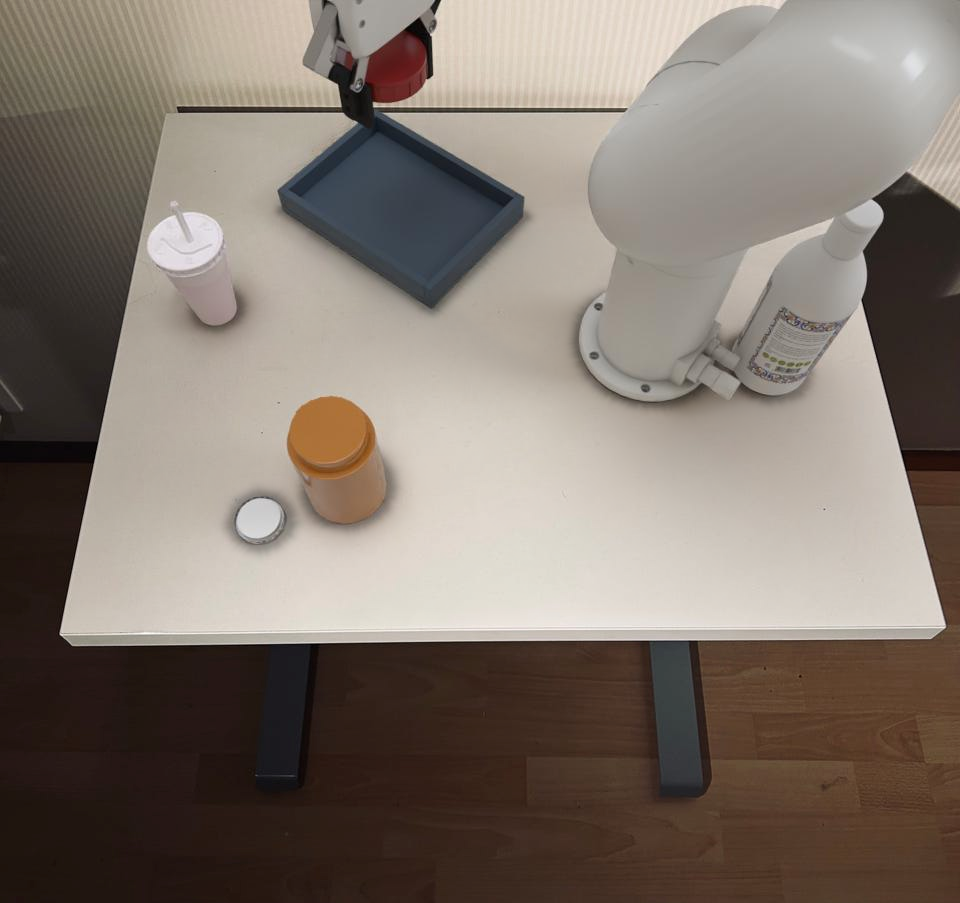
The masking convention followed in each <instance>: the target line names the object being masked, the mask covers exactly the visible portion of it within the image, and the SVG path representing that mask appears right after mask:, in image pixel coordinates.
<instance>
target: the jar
mask: <svg viewBox="0 0 960 903" xmlns="http://www.w3.org/2000/svg"><path fill="white" fill-rule="evenodd" d="M286 449H287V450H286V451H287V453H288V456H289V459H290V461H291V464H292V466H293V467H294V470H295V472H296V474H297V476H298V478H299V480H300V483H301V485H302V487H303V488H304V492H305V493H306V495H307V498H308V500H309V502H310V505H311V506H312V507H313V509H314V510H315V512H316V513H317V514H318V515H319V516H320V517H322V518H323V519H325V520H327V521H329V522H332V523H336V524H342V525H347V524H348V525H349V524H355V523H358V522H362V521H363V520H365V519H367V518H370V517H371V516H372V515H373V514H374V513H375V512H376V511H377V510H378V509H379V508H380V506H381V505H382V503H383V502H384V500H385V497H386V495H387V490H388V489H387V487H388V485H387V483H388V482H387V477H386V473H385V468H384V464H383V460H382V456H381V451H380V447H379V442H378V437H377V433H376V429H375V426H374V423H373V422H372V420H371V418H370V417H369V415H368V414H367V413H366V412H365V411H364V410H362V408H360V407H359V406H358V405H356V403H355V402H353V401H351V400H348V399H346V398H344V397H342V396H341V397H340V396H333V395H328V396H320V397H316V398H314V399H310V400H309V401H307V402H306V403H304V404H302V405H301V406H300V407H299V408H298V409H297V410H296V411H295V414H294V415H293V418H292V420H291V422H290V425H289V430H288V433H287V438H286Z"/></svg>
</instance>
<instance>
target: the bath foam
mask: <svg viewBox="0 0 960 903" xmlns="http://www.w3.org/2000/svg"><path fill="white" fill-rule="evenodd" d="M832 219H833V220H832V221H831V223H830V225H829V226H828V228H827V230H826V232H825V233H822V234H818V235H815V236H813V237H810V238H807V239H805V240H803V241H801V242H799V243H798V244H797V245H795V246H793V247H792V248H791V249H790V250H789V251H787V252H786V253H785V254H784V256H783V257H782V258H781V259H780V260H779V262H778V263H777V264H776V266H775V267H774V269H773V271H772V272H771V275H770V277H769V278H768V280H767V283H766V284H765V286H764V288H763V289H762V291H761V293H760V295H759V297H758V299H757V301H756V303H755V304H754V306H753V308H752V310H751V312H750V314H749V315H748V318H747V320H746V321H745V324H744V325H743V327H742V329H741V331H740V333H739V335H738V337H737V339H736V340H735V342H734V345H733V347H732V350H731V352H733V353H735V354H736V355H738V356H740V357H741V360H740V362H739V363H738V365H737V366H736V368H735V369H734V370H733V372H734V374H735V376H736V378H737V379H738V380H740V381H741V383H742V384H743V385H744V386H745V387H747V388H748V389H750V390H752V391H754V392H755V393H758V394H761V395H765V396H782V395H787V394H789V393H791V392H794V391H795V390H797V389H798V388H799V387H801V385H802V384H803V383H804V381H806V378H807V377H808V376H809V375H810V373H811V372H812V371H813V369H814V368H815V367H816V365H817V364H818V362H819V361H820V360H821V358H822V357H823V355H824V354H825V353H826V352H827V350H828V349H829V347H830V346H831V345H832V344H833V342H834V340H835V339H836V338H837V336H838V335H839V333H840V332H841V331H842V330H843V328H844V327H845V325H846V324H847V322H848V321H849V320H850V319H851V317H852V316H853V314H854V313H855V312H856V310H857V309H858V307H859V305H860V303H861V301H862V299H863V296H864V293H865V291H866V286H867V280H868V269H867V263H866V259H865V254H864V250H865V249H866V247H867V245H868V244H869V243H870V241H871V240H872V238H873V237H874V235H875V234H876V232H877V231H878V229H879V228H880V227H881V225H882V223H883V221H884V211H883V209H882V207H881V205H879V203H878V202H877V201H874V200H873V199H870V200H869V201H867V202H866V203H864V204H862V205H860V206H859V207H857V208H855V209H853V210H851V211H849V212H846V213H844V214H842V215H839V216H837V217H834V218H832Z"/></svg>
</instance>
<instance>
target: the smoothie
mask: <svg viewBox="0 0 960 903" xmlns="http://www.w3.org/2000/svg"><path fill="white" fill-rule="evenodd" d="M169 205H170V207H171V210H172V212H173V213H174V214H173V215H171V216H168V217H166V218H165V219H163V220H161V221H160V222H159V223H157V224H156V225H155V227H154V228H152V230H151V231H150V233H149V235H148V238H147V240H146V242H147V243H146V250H147V254H148V256H149V257H150V261H151V263H152V265H153V266H154V267H155V268H156V269H157V271H159V272H161V273H162V274H164V275H165V276H166V278H167V279H168V280H169V281H170V282H171V284H172V285H173V286H174V288H175V289H176V290H177V292H179V294H180V295H181V296H182V298H183V299H184V301H186V303H187V305H188V306H189V307H190V309H192V311H193V313H195V315H196V316H197V317H198V318H199V320H200V321H201V322H202V323H203V324H205V325H208V326H214V327H215V326H222V325H225V324H227V323H228V322H230V321H231V320H233V319H234V317H235V315H236V314H237V311H238V305H237V300H236V295H235V291H234V286H233V281H232V277H231V272H230V268H229V264H228V259H227V254H226V249H227V238H226V235H225V234H224V231H223V230H222V227H221V226H220V224H219V223H218V222H217V221H216V220H215V219H214V218H213V217H211V216H209V215H207V214H205V213H202V212H201V213H200V212H195V211H189V212H188V211H187V212H182V210H181V208H180V205H179V203H178V201H176V200H173V201H171V202H170V204H169Z"/></svg>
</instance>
